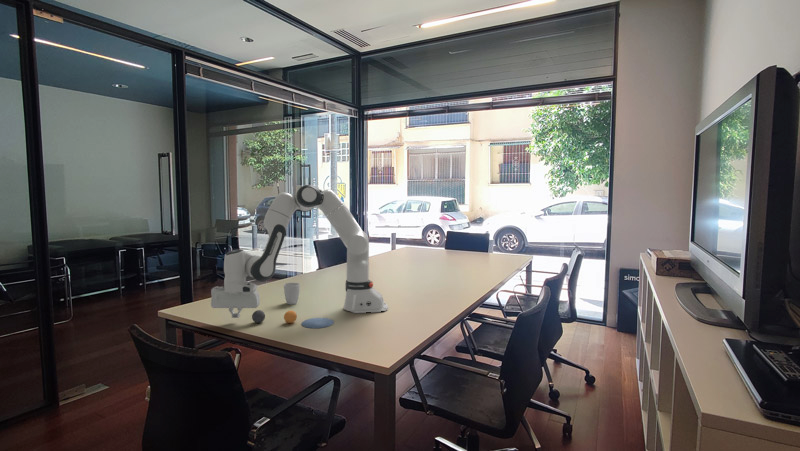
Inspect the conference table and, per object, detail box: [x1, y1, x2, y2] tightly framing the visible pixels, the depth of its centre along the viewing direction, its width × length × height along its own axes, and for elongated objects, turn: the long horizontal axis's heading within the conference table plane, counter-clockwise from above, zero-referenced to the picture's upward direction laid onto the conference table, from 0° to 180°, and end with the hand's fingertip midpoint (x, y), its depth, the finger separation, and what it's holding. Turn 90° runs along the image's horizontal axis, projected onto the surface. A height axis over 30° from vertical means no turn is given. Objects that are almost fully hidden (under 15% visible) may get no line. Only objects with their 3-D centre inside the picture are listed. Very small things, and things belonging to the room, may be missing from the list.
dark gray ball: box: [251, 309, 266, 324], centre depth 174 cm, size 6×6×6 cm
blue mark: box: [300, 317, 335, 329], centre depth 174 cm, size 14×14×1 cm
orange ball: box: [283, 310, 298, 324], centre depth 174 cm, size 6×6×6 cm
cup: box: [283, 282, 301, 305], centre depth 205 cm, size 8×8×10 cm
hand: (235, 317), depth 174 cm, fingers closed
